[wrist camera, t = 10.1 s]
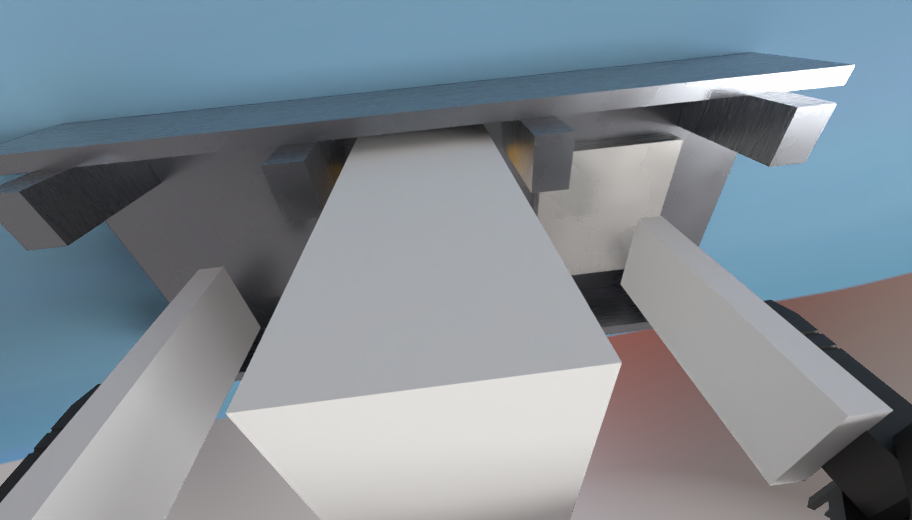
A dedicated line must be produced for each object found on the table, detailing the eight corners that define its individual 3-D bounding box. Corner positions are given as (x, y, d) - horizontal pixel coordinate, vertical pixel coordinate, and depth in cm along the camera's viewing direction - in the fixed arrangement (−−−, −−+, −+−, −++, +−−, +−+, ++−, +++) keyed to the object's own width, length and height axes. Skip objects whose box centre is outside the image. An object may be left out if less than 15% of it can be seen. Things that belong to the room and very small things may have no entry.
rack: (217, 335, 18) (157, 430, 14) (61, 123, 12) (-131, 184, 7) (667, 281, 18) (737, 356, 14) (754, 52, 12) (920, 72, 8)
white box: (402, 304, 16) (386, 594, 8) (360, 130, 11) (225, 413, 3) (486, 293, 16) (553, 570, 8) (479, 117, 12) (621, 361, 3)
